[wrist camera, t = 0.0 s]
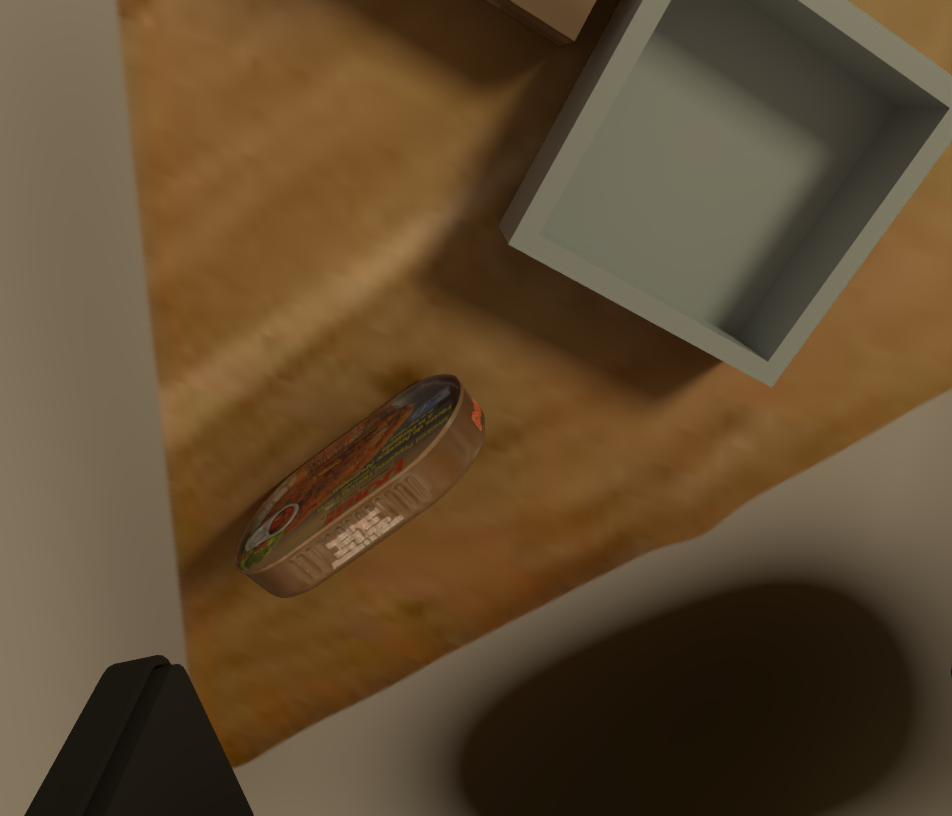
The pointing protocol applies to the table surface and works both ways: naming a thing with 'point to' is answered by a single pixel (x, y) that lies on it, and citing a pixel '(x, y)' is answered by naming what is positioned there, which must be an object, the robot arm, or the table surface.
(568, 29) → the holder block
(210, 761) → the robot arm
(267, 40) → the table surface
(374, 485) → the tin
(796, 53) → the tray
